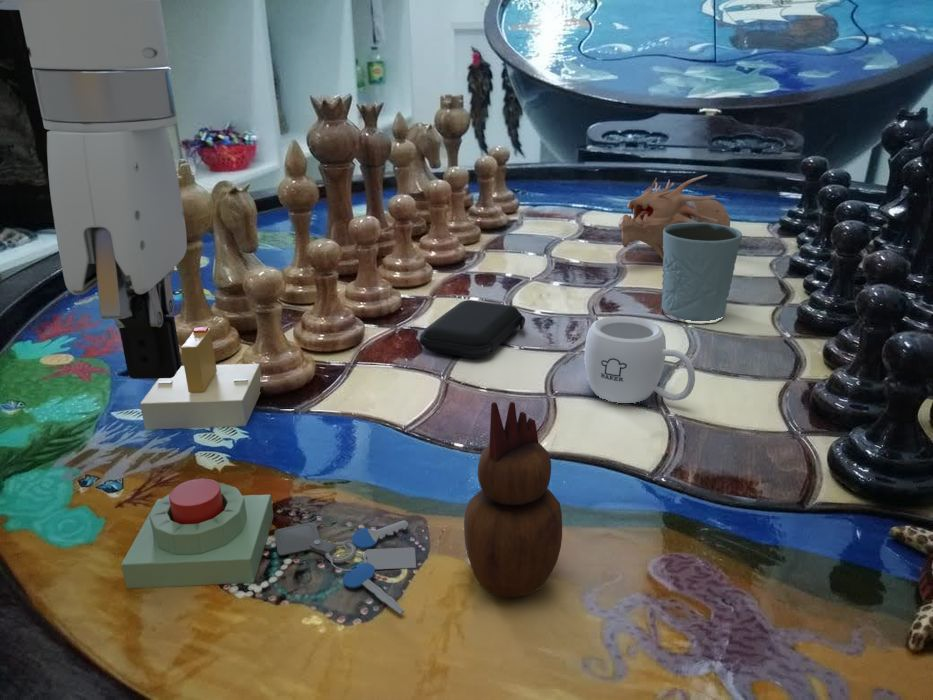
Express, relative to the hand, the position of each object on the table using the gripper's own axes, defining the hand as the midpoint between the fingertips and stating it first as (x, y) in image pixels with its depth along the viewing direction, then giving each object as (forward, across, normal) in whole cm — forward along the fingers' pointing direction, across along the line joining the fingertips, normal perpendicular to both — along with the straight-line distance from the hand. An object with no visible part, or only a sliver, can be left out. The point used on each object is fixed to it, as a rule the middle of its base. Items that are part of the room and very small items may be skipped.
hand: (155, 373), depth 52 cm
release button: (+11, +2, +2) cm, 11 cm away
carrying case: (+14, -40, +26) cm, 49 cm away
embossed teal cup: (+14, -47, +57) cm, 75 cm away
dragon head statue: (+14, -73, +63) cm, 97 cm away
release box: (+14, +2, +2) cm, 15 cm away
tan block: (+11, -22, -4) cm, 25 cm away
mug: (+14, -22, +42) cm, 49 cm away
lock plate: (+14, -22, -4) cm, 27 cm away
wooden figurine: (+14, +6, +25) cm, 30 cm away
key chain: (+14, +3, +14) cm, 20 cm away
